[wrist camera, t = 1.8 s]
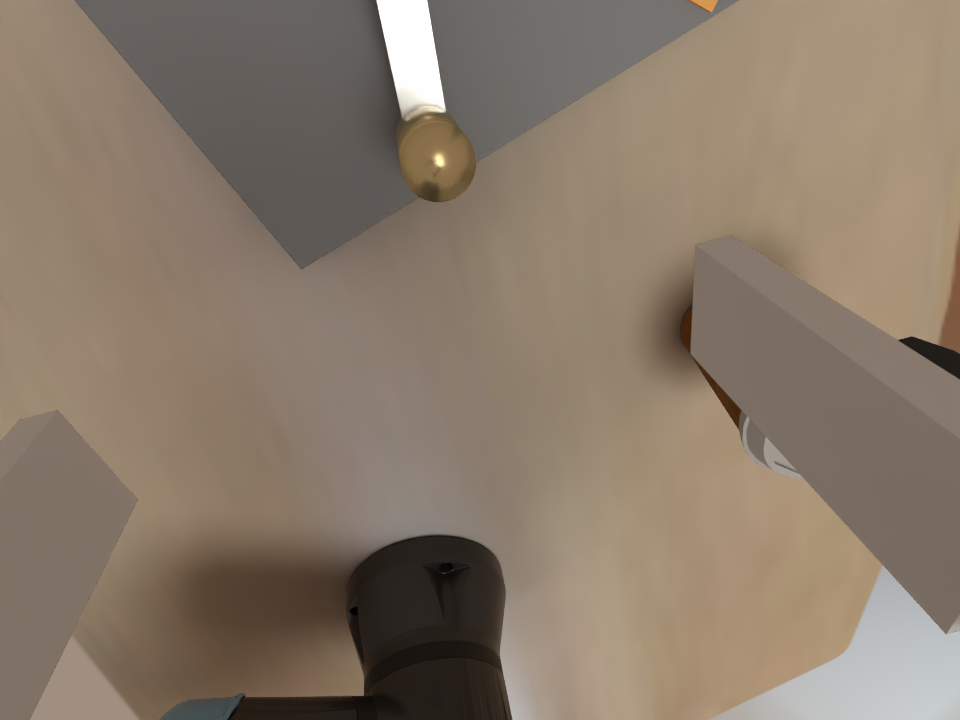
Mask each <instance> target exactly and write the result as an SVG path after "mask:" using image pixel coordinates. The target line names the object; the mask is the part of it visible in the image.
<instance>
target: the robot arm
mask: <svg viewBox="0 0 960 720" xmlns="http://www.w3.org/2000/svg"><path fill="white" fill-rule="evenodd" d="M690 354H691V355H692V356H693V357H694V358H695V360H696V361H697V362H698V363H699V364H700V365H701V366H702V367H703V368H704V369H705V370H706V372H707V373H708V374H709V375H710V376H711V377H712V378H713V379H714V380H715V381H716V383H717V384H718V385H719V386H720V387H721V388H722V389H723V390H724V391H725V392H726V394H727V395H728V396H729V397H730V398H731V399H732V400H733V401H734V402H735V403H736V404H737V406H738V407H739V408H740V409H741V410H742V411H743V412H744V413H745V414H746V415H747V417H748V418H749V419H750V420H751V421H752V422H753V423H754V424H755V425H756V426H757V427H758V429H759V430H760V431H761V432H762V433H763V434H764V435H765V436H766V437H767V438H768V440H769V441H770V442H771V443H772V444H773V445H774V446H775V447H776V448H777V449H778V451H779V452H780V453H781V454H782V455H783V456H784V457H785V458H786V459H787V460H788V461H789V463H790V464H791V465H792V466H793V467H794V468H795V469H796V470H797V471H798V472H799V474H800V475H801V476H802V477H803V478H804V479H805V480H806V481H807V482H808V483H809V484H810V486H811V487H812V488H813V489H814V490H815V491H816V492H817V493H818V494H819V495H820V497H821V498H822V499H823V500H824V501H825V502H826V503H827V504H828V505H829V506H830V508H831V509H832V510H833V511H834V512H835V513H836V514H837V515H838V516H839V517H840V518H841V520H842V521H843V522H844V523H845V524H846V525H847V526H848V527H849V528H850V529H851V531H852V532H853V533H854V534H855V535H856V536H857V537H858V538H859V539H860V540H861V542H862V543H863V544H864V545H865V546H866V547H867V548H868V549H869V550H870V551H871V552H872V554H873V555H874V556H875V557H876V558H877V559H878V560H879V561H880V562H881V563H882V565H883V566H884V567H885V568H886V569H887V570H888V571H889V572H890V573H891V574H892V575H893V577H894V578H895V579H896V580H897V581H898V582H899V583H900V584H901V585H902V586H903V588H904V589H905V590H906V591H907V592H908V593H909V594H910V595H911V596H912V597H913V598H914V600H915V601H916V602H917V603H918V604H919V605H920V606H921V607H922V608H923V609H924V610H925V612H926V613H927V614H928V615H929V616H930V617H931V618H932V619H933V620H934V622H935V623H936V624H937V625H938V626H939V627H940V628H941V629H942V630H943V631H944V632H945V634H949V633H953V632H957V631H960V354H959V353H957V352H955V351H953V350H950V349H947V348H944V347H942V346H939V345H936V344H933V343H930V342H927V341H924V340H921V339H918V338H915V337H908V338H904V339H900V340H896V339H895V338H893V337H892V336H890V335H888V334H887V333H885V332H884V331H882V330H880V329H879V328H877V327H876V326H874V325H873V324H871V323H869V322H868V321H866V320H865V319H863V318H862V317H860V316H858V315H857V314H855V313H854V312H852V311H850V310H849V309H847V308H846V307H844V306H843V305H841V304H839V303H838V302H836V301H835V300H833V299H832V298H830V297H828V296H827V295H825V294H824V293H822V292H820V291H819V290H817V289H816V288H814V287H813V286H811V285H809V284H808V283H806V282H805V281H803V280H801V279H800V278H798V277H797V276H795V275H794V274H792V273H790V272H789V271H787V270H786V269H784V268H783V267H781V266H779V265H778V264H776V263H775V262H773V261H771V260H770V259H768V258H767V257H765V256H764V255H762V254H760V253H759V252H757V251H756V250H754V249H753V248H751V247H749V246H748V245H746V244H745V243H743V242H741V241H740V240H738V239H737V238H735V237H734V236H732V235H731V236H727V237H723V238H719V239H715V240H711V241H708V242H704V243H700V244H696V245H695V264H694V285H693V307H692V328H691V350H690ZM137 501H138V499H137V498H136V497H135V495H134V494H133V493H132V492H131V491H130V490H129V489H128V488H127V487H126V485H125V484H124V483H123V482H122V481H121V480H120V479H119V478H118V477H117V475H116V474H115V473H114V472H113V471H112V470H111V469H110V468H109V466H108V465H107V464H106V463H105V462H104V461H103V460H102V459H101V458H100V456H99V455H98V454H97V453H96V452H95V451H94V450H93V449H92V448H91V446H90V445H89V444H88V443H87V442H86V441H85V440H84V439H83V438H82V436H81V435H80V434H79V433H78V432H77V431H76V430H75V429H74V427H73V426H72V425H71V424H70V423H69V422H68V421H67V420H66V419H65V417H64V416H63V415H62V414H61V413H60V412H59V411H58V410H56V411H52V412H48V413H44V414H40V415H36V416H32V417H29V418H25V419H21V420H19V421H18V422H17V423H16V424H15V426H14V427H13V428H12V429H11V430H10V431H9V432H8V434H7V435H6V436H5V437H4V438H3V439H2V440H1V441H0V720H30V718H31V716H32V714H33V712H34V710H35V708H36V706H37V704H38V702H39V700H40V698H41V696H42V694H43V692H44V690H45V688H46V686H47V684H48V682H49V679H50V677H51V675H52V673H53V671H54V669H55V667H56V665H57V663H58V661H59V659H60V657H61V655H62V653H63V651H64V649H65V647H66V645H67V643H68V641H69V639H70V637H71V635H72V633H73V631H74V629H75V627H76V625H77V623H78V621H79V618H80V616H81V614H82V612H83V610H84V608H85V606H86V604H87V602H88V600H89V598H90V596H91V594H92V592H93V590H94V588H95V586H96V584H97V582H98V580H99V578H100V576H101V574H102V572H103V570H104V568H105V566H106V564H107V562H108V560H109V557H110V555H111V553H112V551H113V549H114V547H115V545H116V543H117V541H118V539H119V537H120V535H121V533H122V531H123V529H124V527H125V525H126V523H127V521H128V519H129V517H130V515H131V513H132V511H133V509H134V507H135V505H136V503H137ZM505 598H506V591H505V584H504V579H503V575H502V570H501V566H500V564H499V562H498V560H497V559H496V557H495V556H494V555H493V554H492V553H491V552H490V551H488V550H487V549H486V548H484V547H482V546H481V545H479V544H476V543H474V542H471V541H468V540H464V539H459V538H453V537H425V538H418V539H412V540H408V541H404V542H401V543H398V544H395V545H392V546H390V547H387V548H385V549H383V550H381V551H379V552H377V553H376V554H374V555H372V556H371V557H370V558H368V559H367V560H366V561H364V562H363V563H362V564H361V565H360V566H359V567H358V568H357V569H356V571H355V572H354V573H353V575H352V577H351V579H350V581H349V584H348V588H347V603H346V614H347V621H348V624H349V628H350V631H351V634H352V637H353V641H354V644H355V647H356V651H357V654H358V657H359V661H360V664H361V667H362V671H363V674H364V696H317V697H245V694H243V693H240V694H237V695H236V696H235V697H226V698H211V699H197V700H189V701H185V702H182V703H180V704H178V705H176V706H174V707H173V708H172V709H170V710H169V711H168V712H167V713H166V714H165V715H164V716H163V717H162V718H161V719H160V720H512V716H511V711H510V706H509V701H508V695H507V690H506V685H505V680H504V676H503V671H502V665H501V660H500V643H501V634H502V625H503V616H504V607H505Z"/></svg>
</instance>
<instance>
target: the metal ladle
mask: <svg viewBox="0 0 960 720" xmlns="http://www.w3.org/2000/svg"><path fill="white" fill-rule="evenodd" d="M377 5H378V10H379V14H380V19H381V24H382V28H383V33H384V37H385V42H386V47H387V51H388V56H389V61H390V65H391V70H392V74H393V79H394V84H395V88H396V93H397V98H398V102H399V107H400V111H401V115H400V117H399V119H398V122H397V125H396V142H397V149H398V155H399V162H400V168H401V173H402V176H403V179H404V181H405V183H406V184H407V186H408V187H409V188H410V190H411V191H412V192H414V193H415V194H416V195H417V196H419V197H421V198H423V199H425V200H428V201H432V202H444V201H448V200H451V199H454V198H456V197H457V196H459V195H460V194H462V193H463V192H464V191H465V190H466V189H467V187H468V186H469V185H470V183H471V181H472V179H473V177H474V173H475V168H476V157H475V152H474V149H473V146H472V144H471V142H470V141H469V139H468V138H467V136H466V135H465V134H464V132H463V131H462V129H461V128H460V127H459V125H458V124H457V123H456V121H455V120H454V119H453V117H452V116H451V114H450V113H449V112H448V111H447V110H446V109H445V104H444V99H443V93H442V87H441V81H440V75H439V69H438V63H437V57H436V52H435V46H434V40H433V34H432V28H431V22H430V16H429V10H428V5H427V0H377Z"/></svg>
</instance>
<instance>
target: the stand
mask: <svg viewBox="0 0 960 720" xmlns="http://www.w3.org/2000/svg"><path fill="white" fill-rule="evenodd" d="M75 1H76V3H77V4H78V5H79V6H80V7H81V9H82V10H83V11H84V12H85V13H86V14H87V16H88V17H89V18H90V19H91V20H92V22H93V23H94V24H95V25H96V26H97V28H98V29H99V30H100V31H101V32H102V33H103V35H104V36H105V37H106V38H107V39H108V41H109V42H110V43H111V44H112V45H113V46H114V48H115V49H116V50H117V51H118V52H119V54H120V55H121V56H122V57H123V58H124V60H125V61H126V62H127V63H128V64H129V65H130V67H131V68H132V69H133V70H134V71H135V73H136V74H137V75H138V76H139V77H140V78H141V80H142V81H143V82H144V83H145V84H146V86H147V87H148V88H149V89H150V90H151V92H152V93H153V94H154V95H155V96H156V97H157V99H158V100H159V101H160V102H161V103H162V105H163V106H164V107H165V108H166V109H167V111H168V112H169V113H170V114H171V115H172V116H173V118H174V119H175V120H176V121H177V122H178V124H179V125H180V126H181V127H182V128H183V129H184V131H185V132H186V133H187V134H188V135H189V137H190V138H191V139H192V140H193V141H194V143H195V144H196V145H197V146H198V147H199V148H200V150H201V151H202V152H203V153H204V154H205V156H206V157H207V158H208V159H209V160H210V161H211V163H212V164H213V165H214V166H215V167H216V169H217V170H218V171H219V172H220V173H221V175H222V176H223V177H224V178H225V179H226V180H227V182H228V183H229V184H230V185H231V186H232V188H233V189H234V190H235V191H236V192H237V194H238V195H239V196H240V197H241V198H242V199H243V201H244V202H245V203H246V204H247V205H248V207H249V208H250V209H251V210H252V211H253V212H254V214H255V215H256V216H257V217H258V218H259V220H260V221H261V222H262V223H263V224H264V226H265V227H266V228H267V229H268V230H269V231H270V233H271V234H272V235H273V236H274V237H275V239H276V240H277V241H278V242H279V243H280V244H281V246H282V247H283V248H284V249H285V250H286V252H287V253H288V254H289V255H290V256H291V258H292V259H293V260H294V261H295V262H296V263H297V265H298V266H299V267H300V268H301V269H303V268H305V267H306V266H308V265H310V264H311V263H313V262H314V261H316V260H318V259H319V258H321V257H323V256H324V255H326V254H327V253H329V252H331V251H332V250H334V249H336V248H337V247H339V246H340V245H342V244H344V243H345V242H347V241H349V240H350V239H352V238H353V237H355V236H357V235H358V234H360V233H362V232H363V231H365V230H366V229H368V228H370V227H371V226H373V225H375V224H376V223H378V222H379V221H381V220H383V219H384V218H386V217H388V216H389V215H391V214H392V213H394V212H396V211H397V210H399V209H401V208H402V207H404V206H405V205H407V204H409V203H410V202H412V201H414V200H415V199H417V198H418V197H419V196H417V195H416V194H415V193H414V192H412V191H411V190H410V188H409V187H408V186H407V184H406V183H405V181H404V179H403V176H402V173H401V168H400V162H399V155H398V149H397V142H396V125H397V122H398V119H399V117H400V115H401V111H400V107H399V102H398V98H397V93H396V88H395V84H394V79H393V74H392V70H391V65H390V61H389V56H388V51H387V47H386V42H385V37H384V33H383V28H382V24H381V19H380V14H379V10H378V5H377V0H75ZM737 1H739V0H427V5H428V10H429V16H430V22H431V28H432V34H433V40H434V46H435V52H436V57H437V63H438V69H439V75H440V81H441V87H442V93H443V99H444V104H445V109H446V110H447V111H448V112H449V113H450V114H451V116H452V117H453V119H454V120H455V121H456V123H457V124H458V125H459V127H460V128H461V129H462V131H463V132H464V134H465V135H466V136H467V138H468V139H469V141H470V142H471V144H472V146H473V149H474V152H475V157H476V162H477V161H479V160H480V159H482V158H483V157H485V156H487V155H488V154H490V153H492V152H493V151H495V150H496V149H498V148H500V147H501V146H503V145H505V144H506V143H508V142H509V141H511V140H513V139H514V138H516V137H518V136H519V135H521V134H522V133H524V132H526V131H527V130H529V129H531V128H532V127H534V126H535V125H537V124H539V123H540V122H542V121H544V120H545V119H547V118H548V117H550V116H552V115H553V114H555V113H557V112H558V111H560V110H561V109H563V108H565V107H566V106H568V105H570V104H571V103H573V102H574V101H576V100H578V99H579V98H581V97H583V96H584V95H586V94H587V93H589V92H591V91H592V90H594V89H596V88H597V87H599V86H600V85H602V84H604V83H605V82H607V81H609V80H610V79H612V78H613V77H615V76H617V75H618V74H620V73H622V72H623V71H625V70H626V69H628V68H630V67H631V66H633V65H635V64H636V63H638V62H639V61H641V60H643V59H644V58H646V57H648V56H649V55H651V54H652V53H654V52H656V51H657V50H659V49H661V48H662V47H664V46H665V45H667V44H669V43H670V42H672V41H674V40H675V39H677V38H678V37H680V36H682V35H683V34H685V33H687V32H688V31H690V30H691V29H693V28H695V27H696V26H698V25H700V24H701V23H703V22H704V21H706V20H708V19H709V18H711V17H713V16H714V15H716V14H717V13H719V12H721V11H722V10H724V9H726V8H727V7H729V6H730V5H732V4H734V3H735V2H737Z"/></svg>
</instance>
